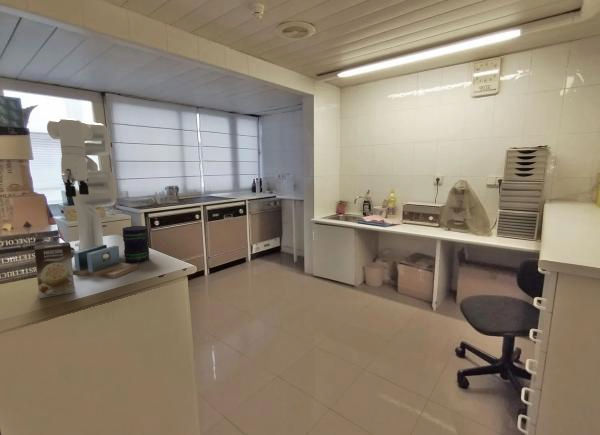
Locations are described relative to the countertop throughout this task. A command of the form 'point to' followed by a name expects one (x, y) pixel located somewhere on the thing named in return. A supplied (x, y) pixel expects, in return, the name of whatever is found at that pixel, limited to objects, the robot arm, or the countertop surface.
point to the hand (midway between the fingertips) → (78, 195)
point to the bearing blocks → (96, 258)
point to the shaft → (105, 256)
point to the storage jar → (135, 244)
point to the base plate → (109, 270)
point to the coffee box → (54, 269)
